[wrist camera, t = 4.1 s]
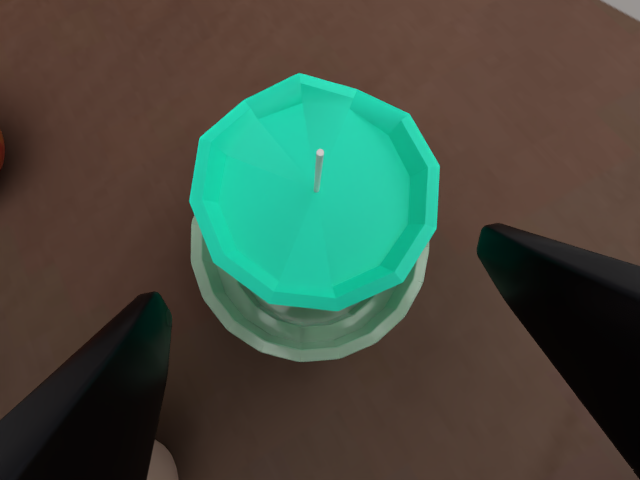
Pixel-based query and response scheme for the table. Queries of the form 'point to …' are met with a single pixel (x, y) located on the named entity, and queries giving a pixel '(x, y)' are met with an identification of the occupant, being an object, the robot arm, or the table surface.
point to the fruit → (2, 150)
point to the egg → (162, 464)
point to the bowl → (300, 313)
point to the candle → (315, 194)
